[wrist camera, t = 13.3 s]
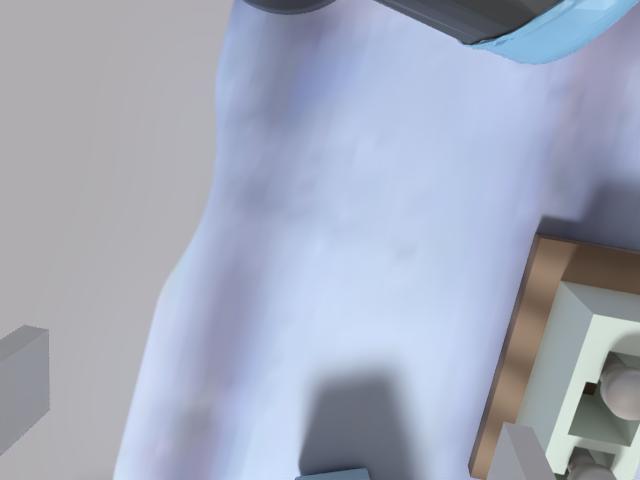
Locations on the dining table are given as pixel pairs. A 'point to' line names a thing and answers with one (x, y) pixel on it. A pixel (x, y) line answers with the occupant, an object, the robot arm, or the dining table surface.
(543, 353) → the two-pocket foam insert
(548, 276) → the board
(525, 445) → the robot arm
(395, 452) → the dining table surface
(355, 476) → the radio
